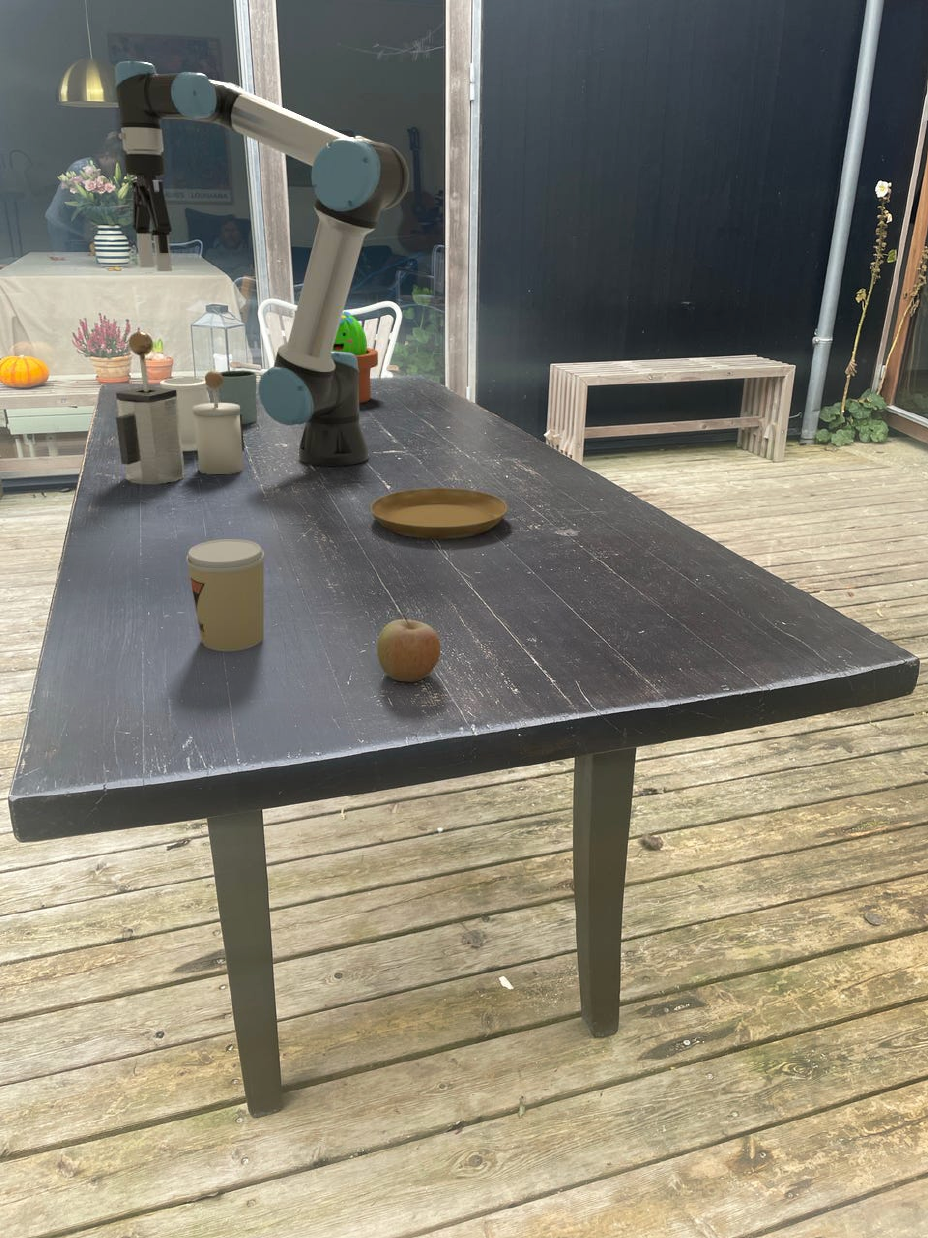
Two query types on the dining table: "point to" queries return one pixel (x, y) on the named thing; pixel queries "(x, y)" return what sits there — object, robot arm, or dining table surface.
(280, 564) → the dining table surface
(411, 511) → the plant saucer
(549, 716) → the dining table surface
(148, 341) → the plunger
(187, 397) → the jar
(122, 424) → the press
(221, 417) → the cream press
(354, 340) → the potted cactus
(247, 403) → the teal pot
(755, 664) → the dining table surface
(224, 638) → the coffee cup
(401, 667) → the fruit
